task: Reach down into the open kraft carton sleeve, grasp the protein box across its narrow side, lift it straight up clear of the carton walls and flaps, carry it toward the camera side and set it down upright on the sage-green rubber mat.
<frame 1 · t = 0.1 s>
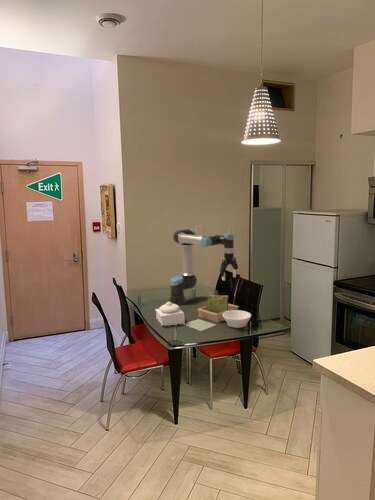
hand: (229, 278, 303), 28 cm above the table, fingers open, 13 cm apart
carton: (218, 315, 299), on the table
protein box: (218, 316, 299), resting in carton
bowl: (236, 325, 277), on the table
mat: (199, 325, 279), on the table
butter dish: (170, 322, 287), on the table, touching mat
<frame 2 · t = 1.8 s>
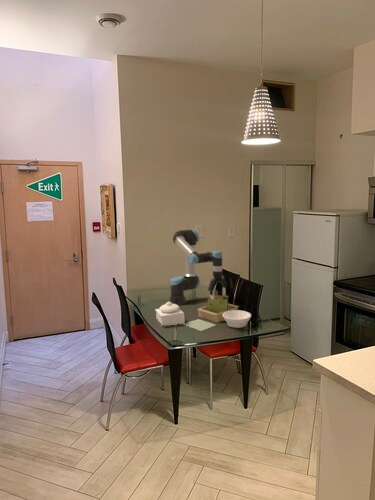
hand: (218, 297, 296), 15 cm above the table
protein box: (218, 316, 299), resting in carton, touching gripper
everything else where it was.
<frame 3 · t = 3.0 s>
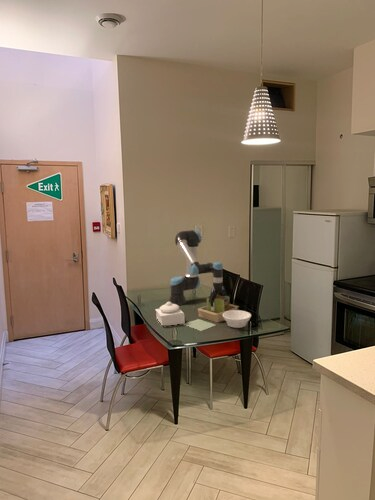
hand: (218, 308, 298), 6 cm above the table, fingers closed on protein box, 12 cm apart
protein box: (218, 316, 299), resting in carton, touching gripper
everything else where it was.
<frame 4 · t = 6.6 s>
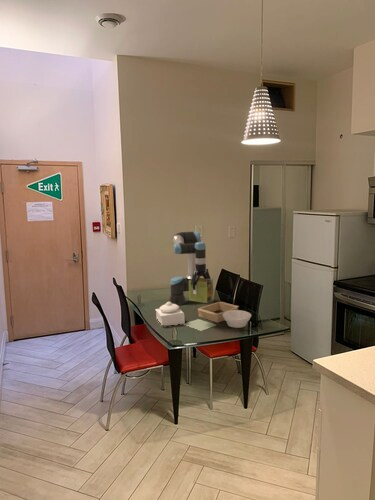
hand: (201, 292, 277), 25 cm above the table, fingers closed on protein box, 12 cm apart
protein box: (201, 300, 278), point 19 cm above the table, touching gripper
everything else where it was.
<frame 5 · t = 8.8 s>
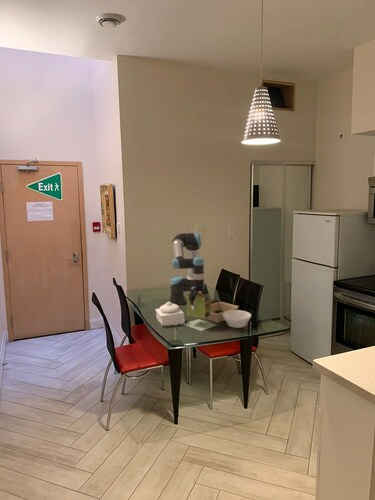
hand: (199, 307, 277), 14 cm above the table, fingers closed on protein box, 12 cm apart
protein box: (199, 315, 278), point 8 cm above the table, touching gripper
everything else where it was.
when the fingers open (8 cm above the table, at t = 10.6 s): protein box drops 1 cm, resting on mat.
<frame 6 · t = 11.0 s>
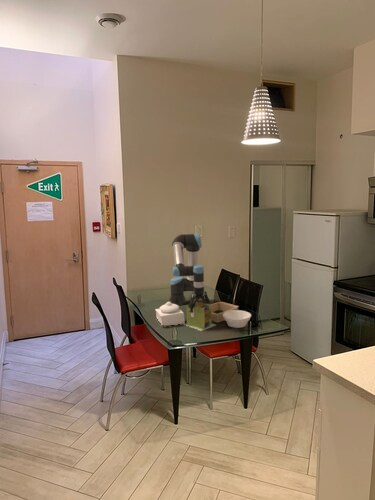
hand: (199, 314, 278), 8 cm above the table, fingers open, 13 cm apart
protein box: (199, 325, 279), resting on mat
everything else where it was.
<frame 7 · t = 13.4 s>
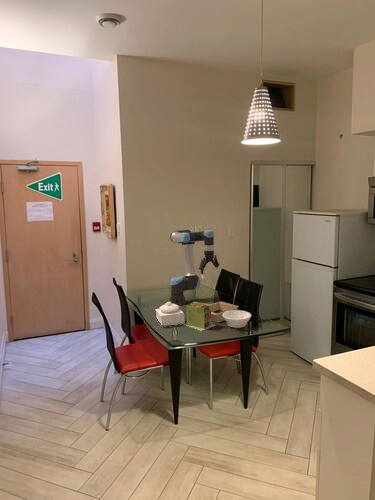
hand: (209, 276, 296), 32 cm above the table, fingers open, 13 cm apart
nothing on the table moved.
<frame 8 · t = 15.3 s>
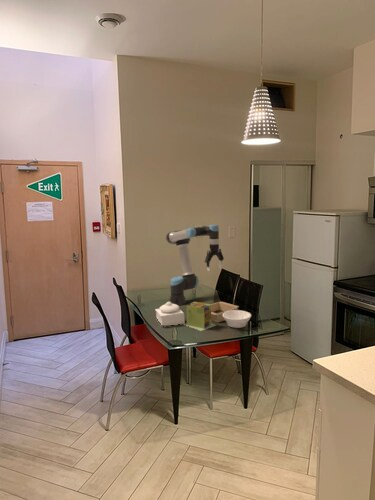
hand: (214, 269, 307), 35 cm above the table, fingers open, 13 cm apart
nothing on the table moved.
at the end: protein box 0.4 cm from the mat (horizontally); protein box tilted 0°; the gripper is holding nothing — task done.
